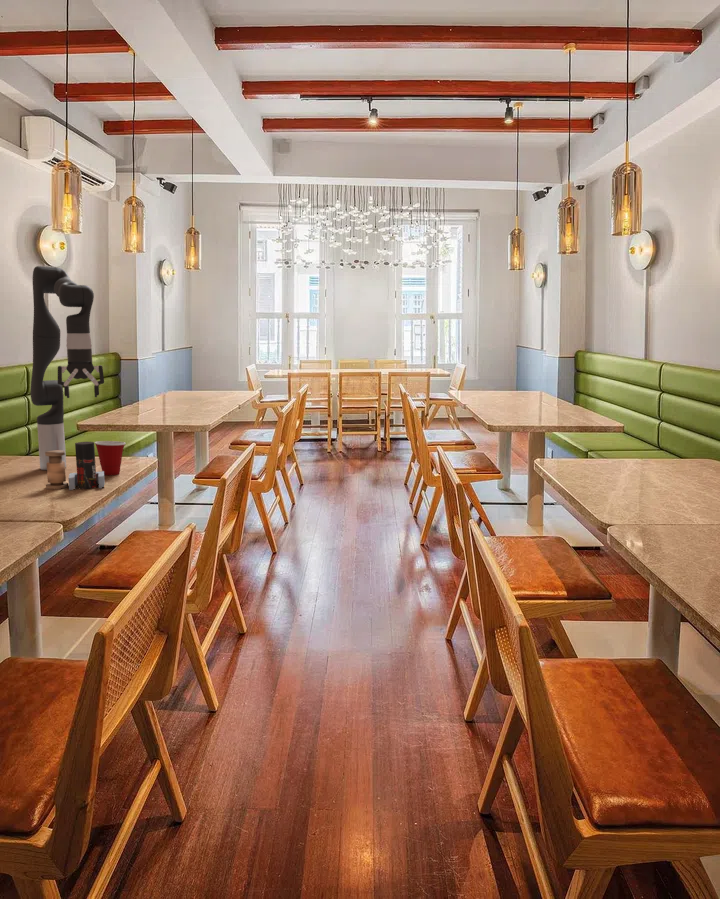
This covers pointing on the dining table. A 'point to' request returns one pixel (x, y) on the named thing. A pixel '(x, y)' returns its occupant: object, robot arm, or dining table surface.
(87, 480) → the deodorant
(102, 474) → the notch board
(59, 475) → the bobbin
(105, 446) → the plastic cup
